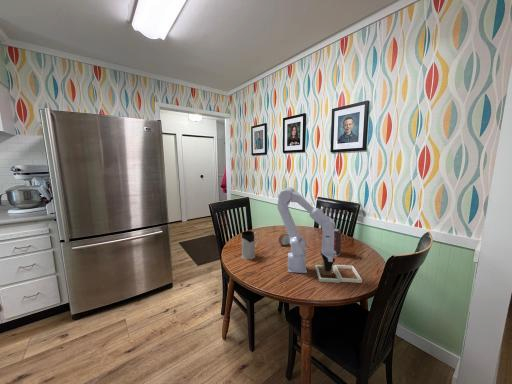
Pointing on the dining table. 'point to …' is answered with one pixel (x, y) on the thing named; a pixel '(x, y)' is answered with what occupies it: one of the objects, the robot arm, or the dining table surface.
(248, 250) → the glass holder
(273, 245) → the dining table surface
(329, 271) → the block
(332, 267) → the pale green rectangular frame
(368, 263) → the dining table surface
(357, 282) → the tray
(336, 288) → the dining table surface
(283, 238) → the tin
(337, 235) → the supplement box
